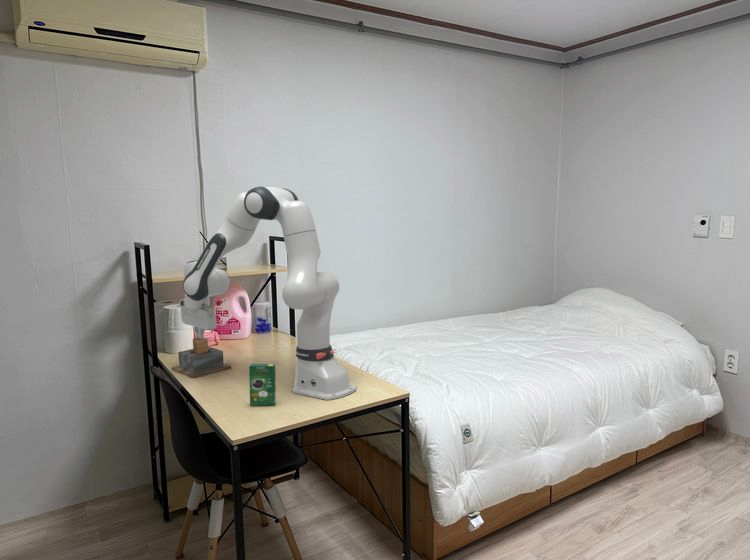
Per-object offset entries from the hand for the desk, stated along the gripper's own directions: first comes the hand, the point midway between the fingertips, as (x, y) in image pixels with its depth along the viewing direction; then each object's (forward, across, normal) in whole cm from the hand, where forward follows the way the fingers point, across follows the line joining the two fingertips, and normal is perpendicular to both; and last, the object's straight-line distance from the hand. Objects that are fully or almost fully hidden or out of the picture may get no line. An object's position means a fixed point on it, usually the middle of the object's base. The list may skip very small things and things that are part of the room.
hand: (199, 338), depth 199 cm
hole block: (+12, 0, 0) cm, 12 cm away
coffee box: (+13, -49, +6) cm, 51 cm away
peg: (+10, 0, 0) cm, 10 cm away
